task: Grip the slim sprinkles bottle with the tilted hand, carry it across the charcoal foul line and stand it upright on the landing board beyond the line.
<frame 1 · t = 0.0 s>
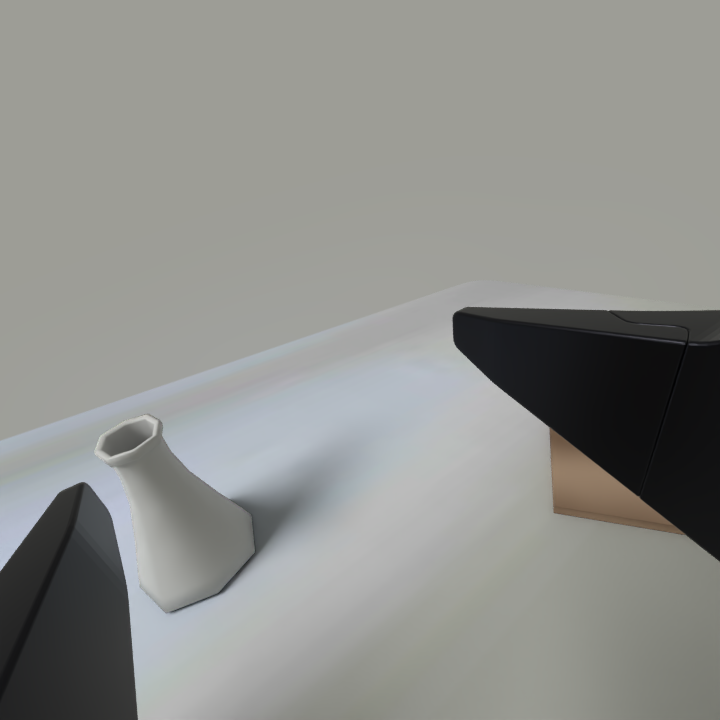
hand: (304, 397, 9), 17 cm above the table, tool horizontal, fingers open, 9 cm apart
flask: (201, 553, 26), on the table
landing board: (636, 461, 26), on the table
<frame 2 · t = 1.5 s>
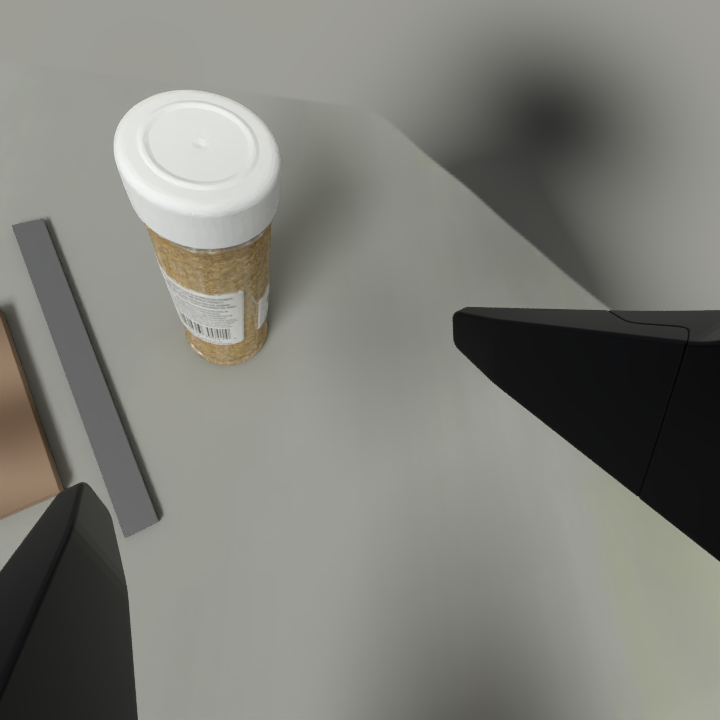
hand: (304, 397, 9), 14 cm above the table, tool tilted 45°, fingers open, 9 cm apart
foul line: (82, 365, 21), on the table
sprinkles bottle: (226, 331, 24), on the table
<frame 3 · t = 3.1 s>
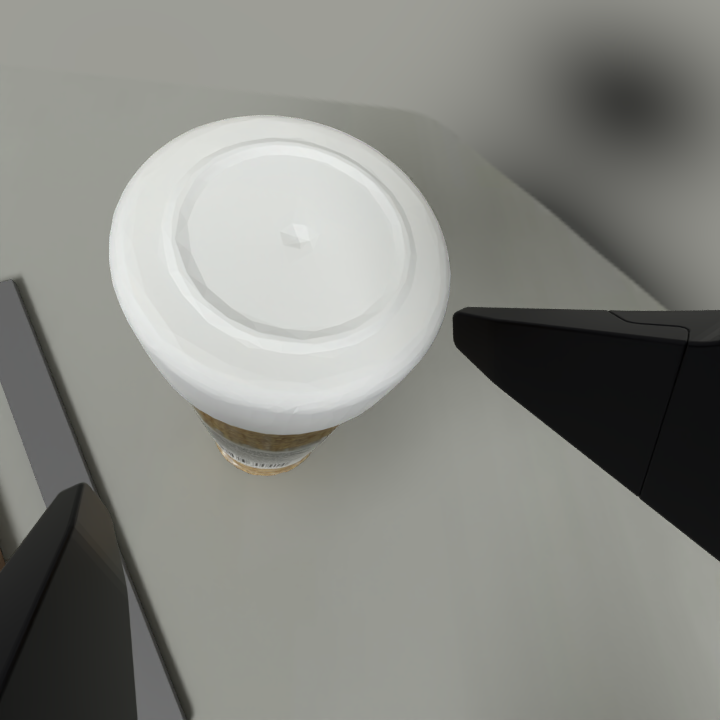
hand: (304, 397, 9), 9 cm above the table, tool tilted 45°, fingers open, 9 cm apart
foul line: (71, 491, 15), on the table
sprinkles bottle: (266, 423, 18), on the table
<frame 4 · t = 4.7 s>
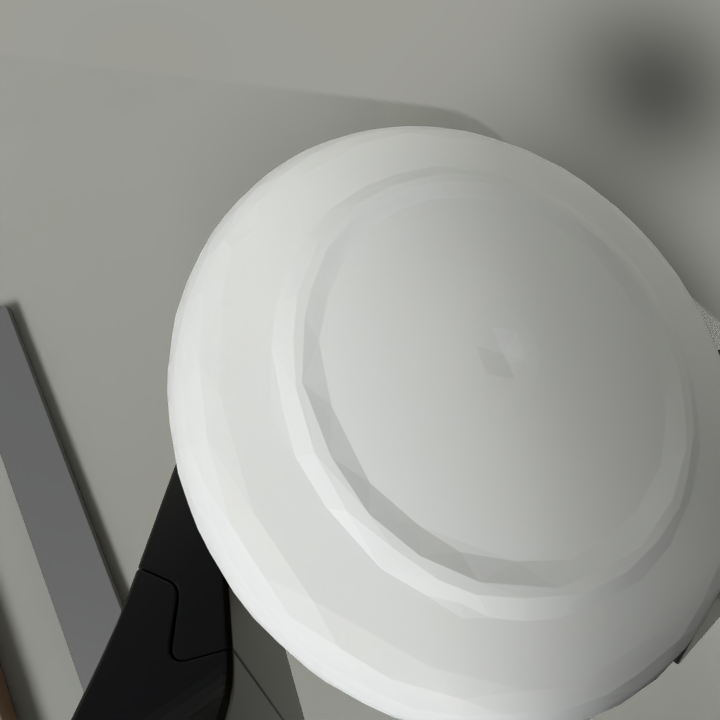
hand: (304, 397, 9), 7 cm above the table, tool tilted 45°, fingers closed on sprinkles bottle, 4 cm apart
foul line: (75, 561, 13), on the table
sprinkles bottle: (300, 471, 15), on the table, touching gripper
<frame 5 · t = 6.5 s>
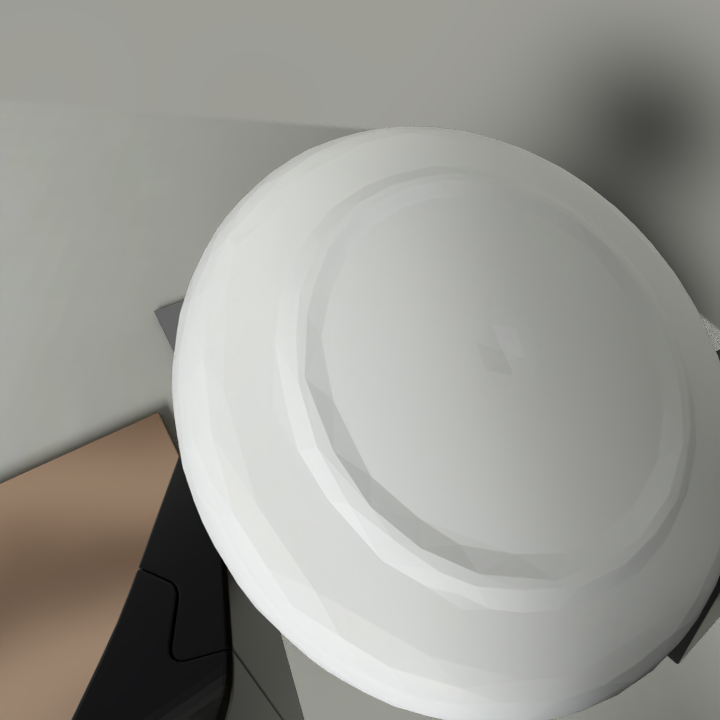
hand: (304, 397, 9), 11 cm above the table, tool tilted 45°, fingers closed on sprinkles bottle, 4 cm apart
foul line: (251, 469, 19), on the table
sprinkles bottle: (300, 470, 15), point 4 cm above the table, touching gripper
landing board: (85, 582, 16), on the table
when the fingers open (8 cm above the table, at t = 8.1 s): sprinkles bottle drops 1 cm, resting on landing board.
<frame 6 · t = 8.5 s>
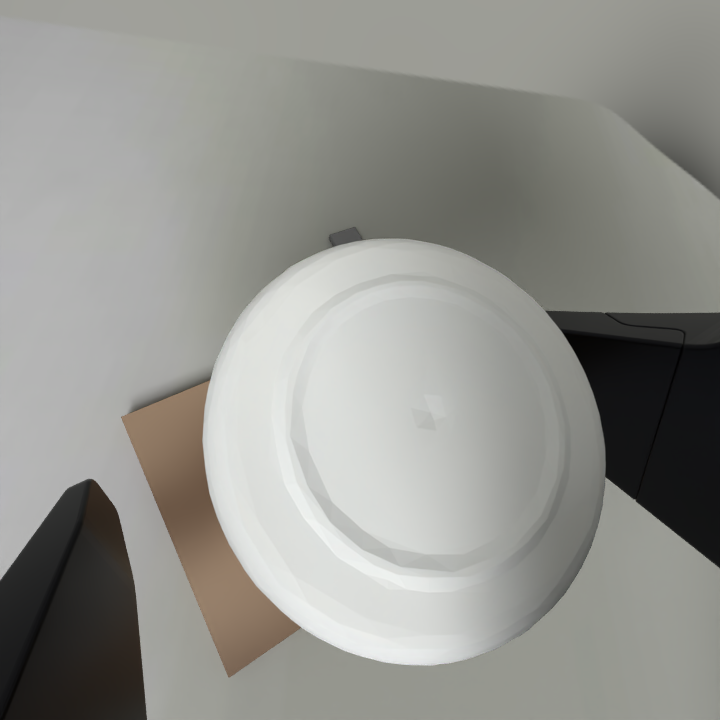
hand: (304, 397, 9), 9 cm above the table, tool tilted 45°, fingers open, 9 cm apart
foul line: (426, 384, 20), on the table
sprinkles bottle: (299, 476, 17), resting on landing board
landing board: (295, 473, 17), on the table
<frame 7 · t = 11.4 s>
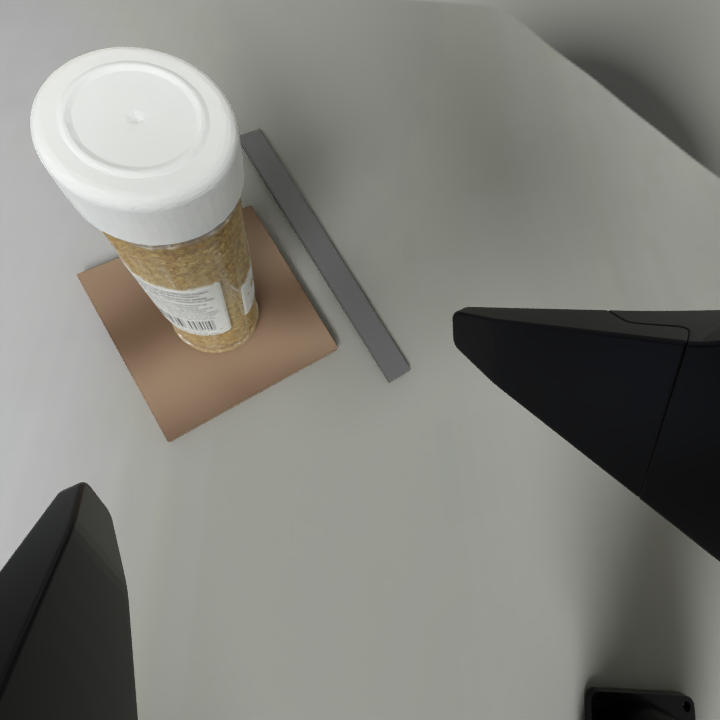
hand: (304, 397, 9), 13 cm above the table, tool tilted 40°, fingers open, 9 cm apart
foul line: (321, 252, 25), on the table
sprinkles bottle: (216, 316, 22), resting on landing board
landing board: (214, 316, 23), on the table
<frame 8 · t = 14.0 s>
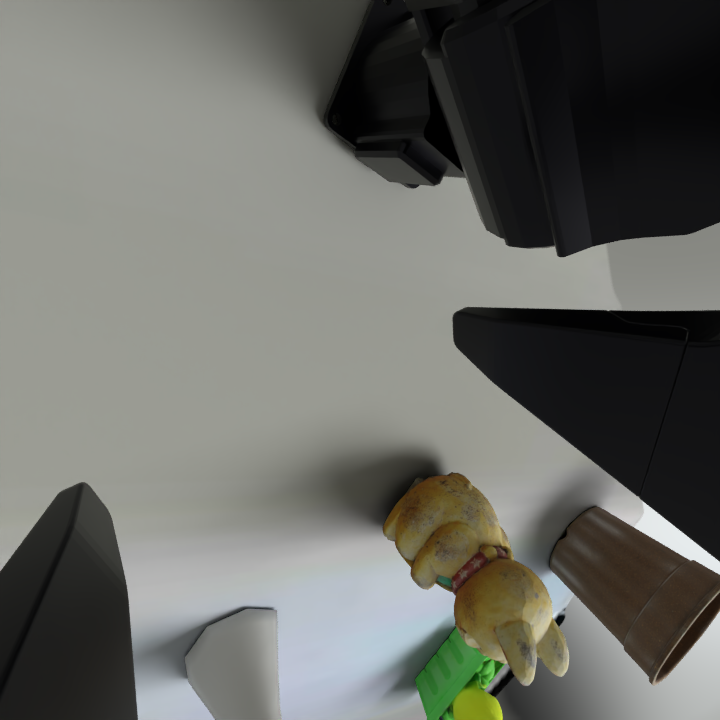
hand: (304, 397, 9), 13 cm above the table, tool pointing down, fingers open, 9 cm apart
fruit basket: (441, 651, 53), on the table
decorative figurine: (416, 494, 36), on the table
flask: (232, 638, 31), on the table
plant pot: (574, 536, 62), on the table
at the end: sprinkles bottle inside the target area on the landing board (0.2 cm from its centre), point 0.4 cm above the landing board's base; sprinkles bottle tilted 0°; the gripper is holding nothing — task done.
